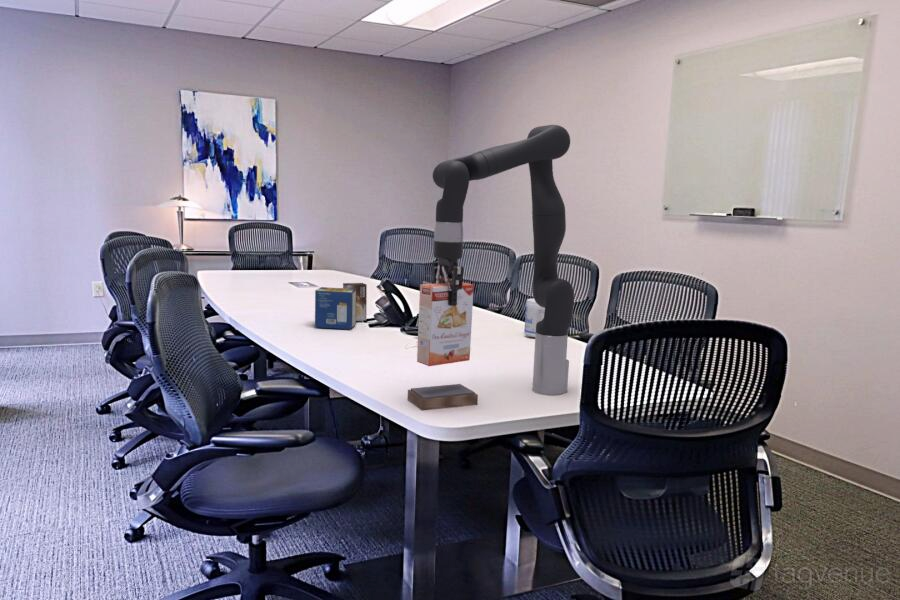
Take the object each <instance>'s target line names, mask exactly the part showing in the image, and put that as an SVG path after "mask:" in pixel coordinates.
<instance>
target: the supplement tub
mask: <svg viewBox="0 0 900 600" xmlns="http://www.w3.org/2000/svg"><path fill="white" fill-rule="evenodd" d="M525 303H526V304H525V314H524V317H525V318H524V331H523V332H524V335H525V336H527V337H532V338H535V334H536V324H537V322H539V321H542V320H543V318H544V313H545V308H544V307H541V306H539V305H538V304H537V303H536V302H535V299H534V298H528V299H526V302H525Z"/></svg>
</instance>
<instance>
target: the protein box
mask: <svg viewBox="0 0 900 600" xmlns="http://www.w3.org/2000/svg"><path fill="white" fill-rule="evenodd" d="M314 291H315V292H314V294H315V295H314V302H315V303H314V328H318V329H320V328H322V329H339V330H340V329H341V330H345V329H346V330H352V329H353V328H354V327H355V326H356V325H357V321H356V289H353V288H343V287H324V286H322V287H319V288H317V289H315V290H314Z"/></svg>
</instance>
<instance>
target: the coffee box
mask: <svg viewBox="0 0 900 600" xmlns="http://www.w3.org/2000/svg"><path fill="white" fill-rule="evenodd" d="M367 287H368V286H367V284H366V283H364V282H342V288H353V289H356V322H358V321H367V315H368V314H367V298H368V297H367V294H368V292H367V290H368V289H367Z"/></svg>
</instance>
